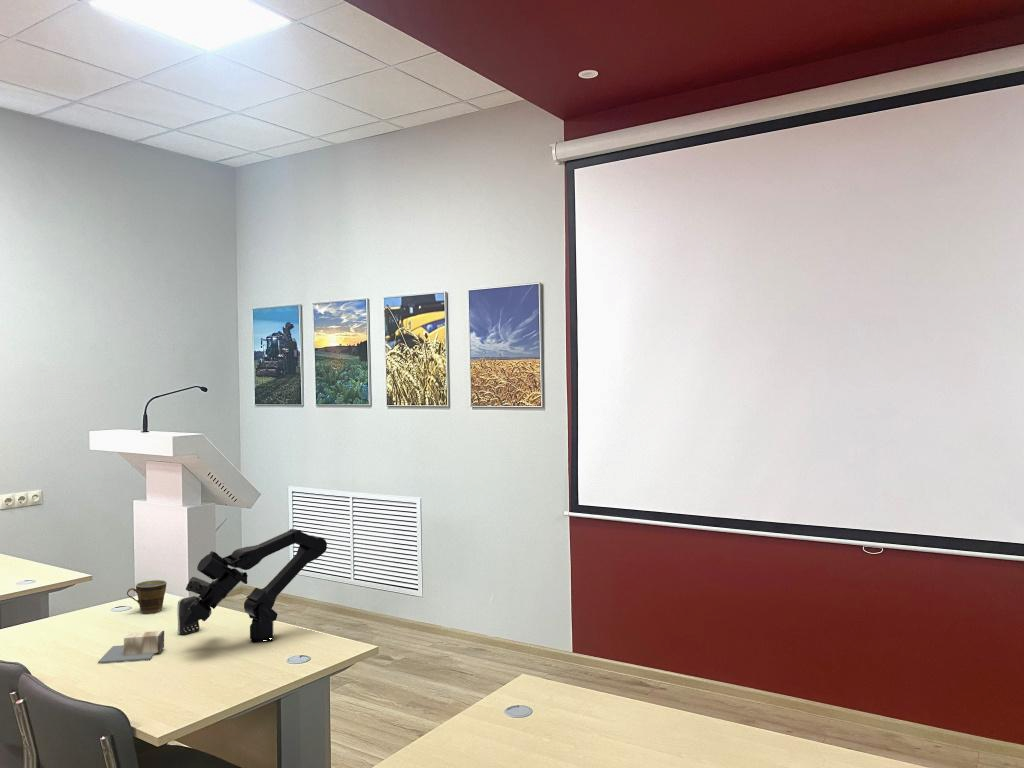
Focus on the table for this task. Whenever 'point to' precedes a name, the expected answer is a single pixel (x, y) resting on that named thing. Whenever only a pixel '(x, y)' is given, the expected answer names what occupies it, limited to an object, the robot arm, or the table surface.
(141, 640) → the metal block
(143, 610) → the ceramic cup
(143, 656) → the mat
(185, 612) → the battery charger
